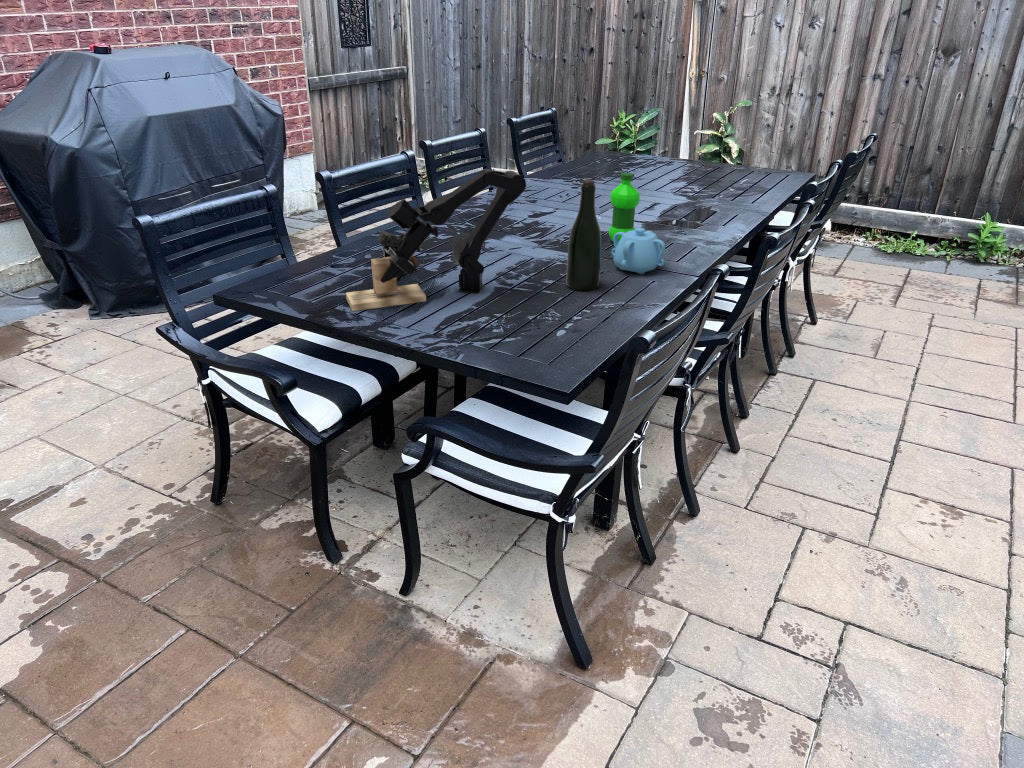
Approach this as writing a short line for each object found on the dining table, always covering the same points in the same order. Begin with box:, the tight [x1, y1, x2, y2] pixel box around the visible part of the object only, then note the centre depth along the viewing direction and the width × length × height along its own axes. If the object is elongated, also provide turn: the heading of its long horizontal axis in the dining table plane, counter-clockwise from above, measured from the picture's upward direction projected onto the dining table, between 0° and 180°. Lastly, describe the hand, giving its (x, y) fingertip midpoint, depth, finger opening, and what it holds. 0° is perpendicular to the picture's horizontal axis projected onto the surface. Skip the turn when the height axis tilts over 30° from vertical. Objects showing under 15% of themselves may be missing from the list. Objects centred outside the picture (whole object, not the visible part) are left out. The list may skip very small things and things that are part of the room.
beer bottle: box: [565, 179, 602, 292], centre depth 227 cm, size 10×10×33 cm
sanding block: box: [370, 257, 398, 297], centre depth 219 cm, size 6×5×10 cm
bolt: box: [396, 255, 419, 281], centre depth 240 cm, size 6×5×15 cm
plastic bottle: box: [608, 172, 641, 243], centre depth 267 cm, size 10×10×25 cm
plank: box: [345, 283, 427, 312], centre depth 222 cm, size 22×10×2 cm, turn 111°
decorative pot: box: [610, 227, 666, 275], centre depth 246 cm, size 16×16×14 cm
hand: (379, 278), depth 218 cm, fingers closed on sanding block, 5 cm apart
